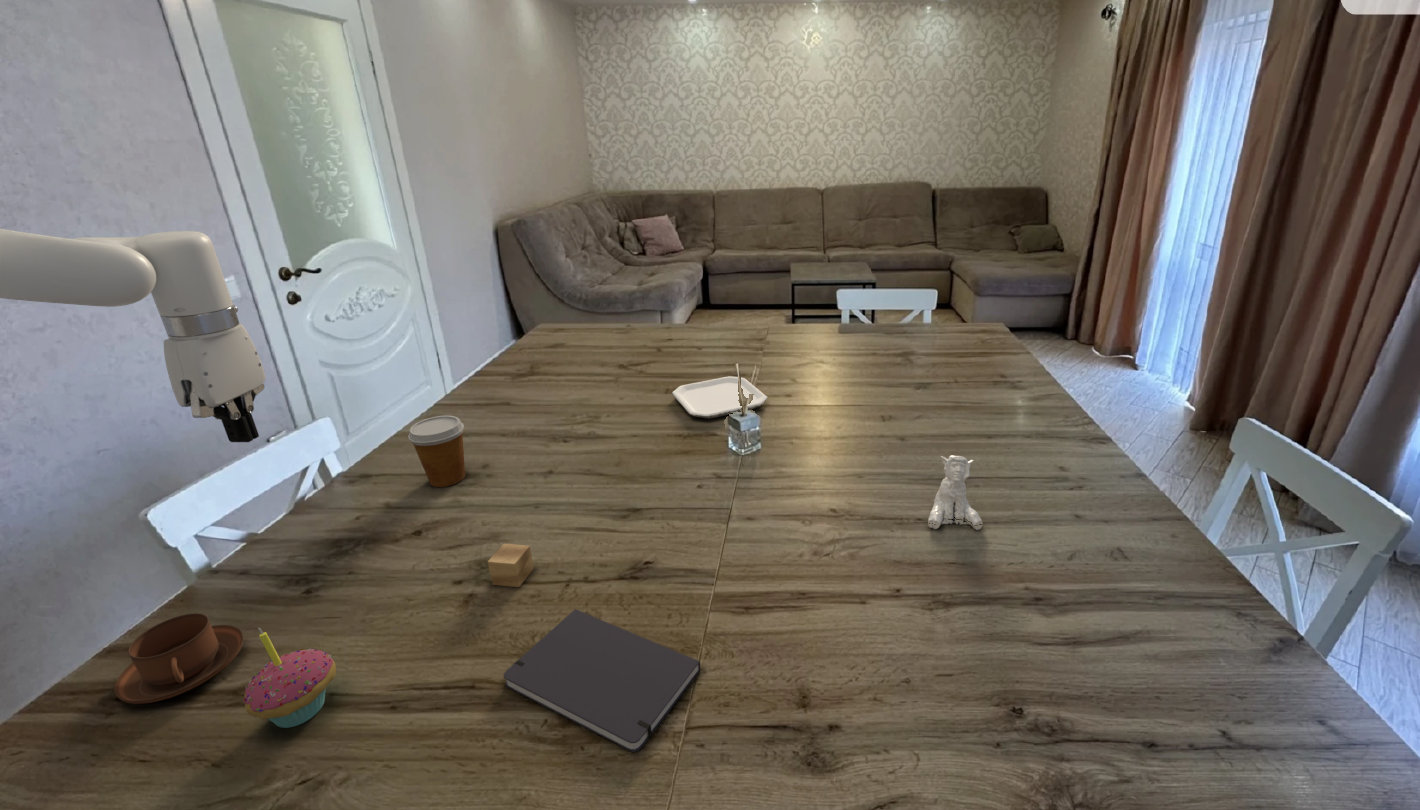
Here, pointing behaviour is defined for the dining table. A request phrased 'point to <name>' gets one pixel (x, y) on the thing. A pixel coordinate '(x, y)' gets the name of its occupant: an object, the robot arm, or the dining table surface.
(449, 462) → the disposable coffee cup
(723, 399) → the plate
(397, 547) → the dining table surface
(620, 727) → the notebook
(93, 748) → the dining table surface
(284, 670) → the cupcake
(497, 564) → the beech block
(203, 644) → the cup and saucer
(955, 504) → the seated beast figurine
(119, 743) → the dining table surface
